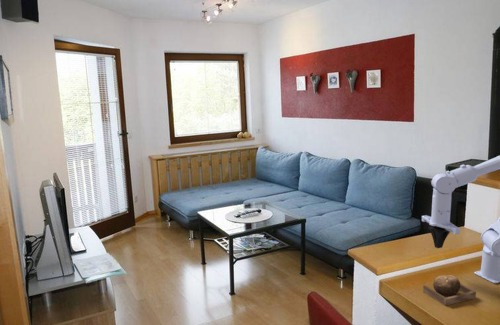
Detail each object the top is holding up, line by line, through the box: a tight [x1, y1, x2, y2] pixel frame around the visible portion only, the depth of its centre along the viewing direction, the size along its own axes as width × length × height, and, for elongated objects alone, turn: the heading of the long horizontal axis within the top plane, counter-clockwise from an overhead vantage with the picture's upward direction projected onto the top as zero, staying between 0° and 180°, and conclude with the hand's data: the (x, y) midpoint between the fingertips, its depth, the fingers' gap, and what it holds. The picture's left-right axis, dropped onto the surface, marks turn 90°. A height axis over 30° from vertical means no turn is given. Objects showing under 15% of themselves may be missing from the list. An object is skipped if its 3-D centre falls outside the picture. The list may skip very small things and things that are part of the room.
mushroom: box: [432, 274, 461, 298], centre depth 124 cm, size 8×8×6 cm
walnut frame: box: [422, 282, 477, 306], centre depth 124 cm, size 12×9×2 cm
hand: (438, 247), depth 136 cm, fingers closed
